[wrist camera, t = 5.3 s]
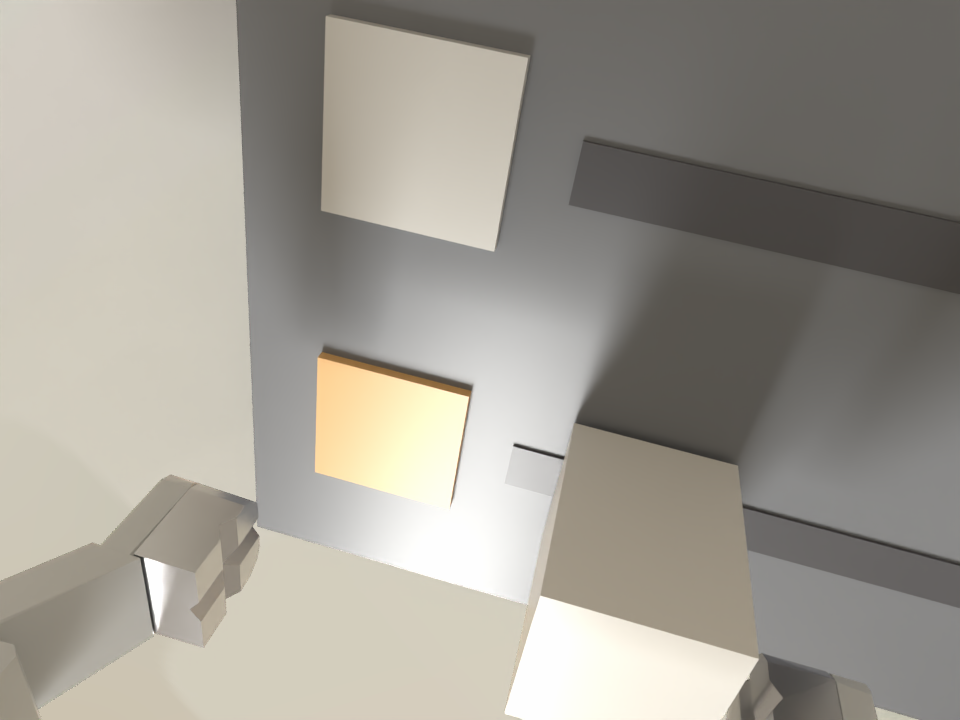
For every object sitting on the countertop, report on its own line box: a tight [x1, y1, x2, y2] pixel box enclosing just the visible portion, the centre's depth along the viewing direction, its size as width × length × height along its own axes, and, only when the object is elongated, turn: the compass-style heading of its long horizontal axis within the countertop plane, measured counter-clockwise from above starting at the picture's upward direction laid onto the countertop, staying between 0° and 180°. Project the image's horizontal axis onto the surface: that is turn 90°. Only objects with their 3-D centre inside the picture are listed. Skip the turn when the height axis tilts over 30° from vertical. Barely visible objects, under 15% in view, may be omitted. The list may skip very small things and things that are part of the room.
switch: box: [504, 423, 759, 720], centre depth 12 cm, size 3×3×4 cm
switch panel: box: [236, 0, 960, 720], centre depth 11 cm, size 20×20×2 cm
